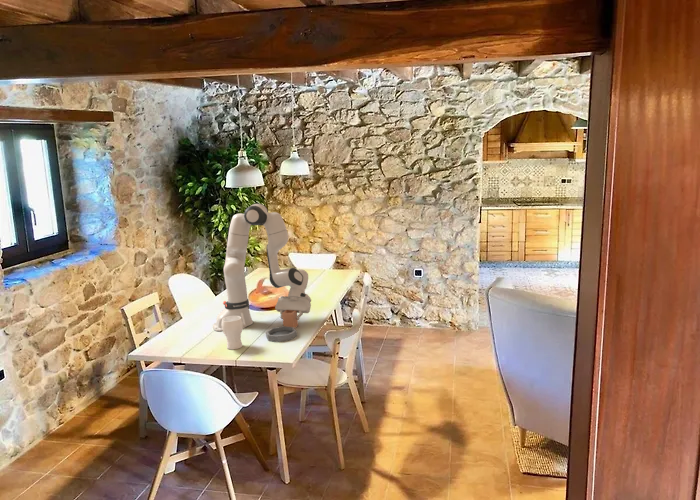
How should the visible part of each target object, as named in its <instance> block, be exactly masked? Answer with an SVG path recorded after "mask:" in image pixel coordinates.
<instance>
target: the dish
mask: <svg viewBox="0 0 700 500" xmlns="http://www.w3.org/2000/svg"><path fill="white" fill-rule="evenodd" d="M297 333H298V332H297V329H296V328H294V327H288V326H283V325H282V326H277V327H272V328H270V329H267V331H265V336H266V339H267V341H268V342H276V343H280V342H281V343H282V342H286V341H291V340H293V339H295V338H296V337H297Z"/></svg>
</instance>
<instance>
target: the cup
mask: <svg viewBox="0 0 700 500" xmlns="http://www.w3.org/2000/svg"><path fill="white" fill-rule="evenodd" d="M221 325H222V330H223V331H222V333H223V334H224V336H225V337H226V341H227V342H226V349H228V350H237V349H238V350H239V349H240V348H242V347H243V342H242V338H241V337H242V332H243V330H244V328H243V322H242V319H241V317H240V316H229V317H225V318H223V319H222V324H221Z"/></svg>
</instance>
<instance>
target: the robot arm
mask: <svg viewBox="0 0 700 500" xmlns="http://www.w3.org/2000/svg"><path fill="white" fill-rule="evenodd" d="M251 226H264V228H265V232H266V234H267V240H268V241H267V242H268V243H267V244H266V258H267V263H268V270H269V282H270V285H272V286H273V287H274V288H277V289H279V288H284V287H288V286H289V287H290V288H289V289H288V290H289V292H288V294H287V295H285V296H284V295H282V296H280V297H278V299H277V302H276V304H275V308H274V309H275V310H276V311H277V312H278V313H280V316H279V317H280V319H281V320H283V316H282V313H283V312H284V311H286V310H293V311H297V316H296V320H298V321H299V320H300V318H301V317H302V316H303V315H304V314H309V313H310V311H311V308H312V303H311V302H312V299H311V297H310V295H309V294H308V293H306V289H307V287H308V283H309V273H308V272H307V271H306V270H304V269H300V268H299V269H298V268H296V267H288V268H283V269H280V265H279V259H278V255H279V251H280V250H281V249H282V248H284V247H285V246H286V245H287V243H288V241H289V233H288V230H287V227H286V224H285V221H284V219H283V217H282V215H281V214H280V213H279V212H275V211H272V212H269V210H268V208H267V206H266V205H265V204H263V203H259V202H258V203H253V204H251V205H250V206H248V207H247V208H246V209H245V210H244V213H241V212H240V213H236V214H234V215H233V216H232V217H231V221H230V225H229V227H228V236H227V243H226V244H227V245H226V253H225V261H224V265H223V278H224V283H225V288H226V294H227V295H226V297H227V301H226V300H224V301H223V303H222V304H223V305H224V309H223V310H221V311H220V312H219V313H218V314H217V316H216V322H214V323H213V324H212V329H213V331H216V332H223V330H222V325H221V324H222V319H223V318H225V317H229V316H240V317H241V319H242V322H243V329H245V328H247V327H248V326H251V325H252V324H253V323H254V322H253V318H252V316H251V312H250V301H249V297H248V292H247V291H248V290H247V282H246V276H245V266H246V265H245V264H246V257H247V249H248V244H249V243H248V242H249V235H250V230H251Z"/></svg>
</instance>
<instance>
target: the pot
mask: <svg viewBox="0 0 700 500" xmlns="http://www.w3.org/2000/svg"><path fill="white" fill-rule="evenodd" d="M282 316H283V319H282V326H288V327H294V328H295V327H296V328H297V327H298V326H299V320H296V316H298V313H297V311H293V310H286V311H284V312H283V313H282ZM296 328H295V329H296Z"/></svg>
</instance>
